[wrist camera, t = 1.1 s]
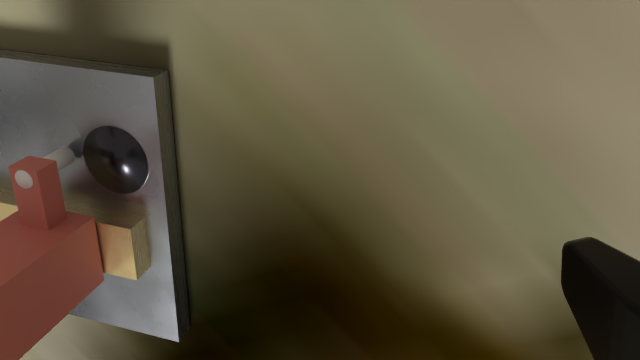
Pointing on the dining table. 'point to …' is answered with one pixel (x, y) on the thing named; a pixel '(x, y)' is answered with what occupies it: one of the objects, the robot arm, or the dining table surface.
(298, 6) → the dining table surface
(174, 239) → the bolt plate
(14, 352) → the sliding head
